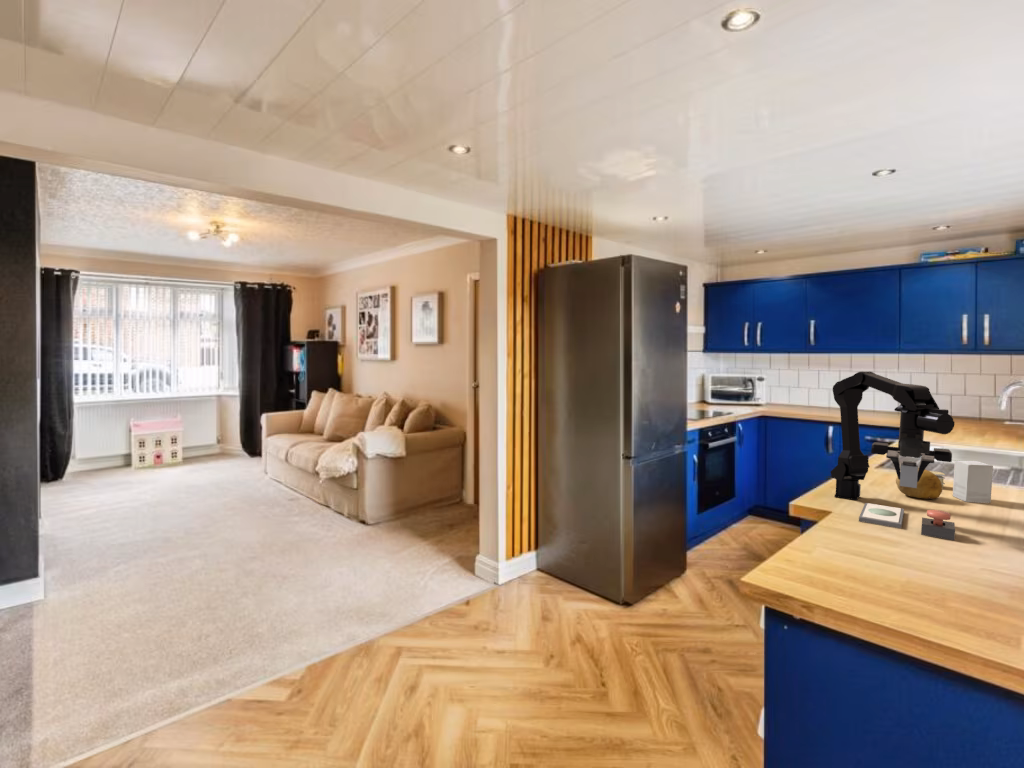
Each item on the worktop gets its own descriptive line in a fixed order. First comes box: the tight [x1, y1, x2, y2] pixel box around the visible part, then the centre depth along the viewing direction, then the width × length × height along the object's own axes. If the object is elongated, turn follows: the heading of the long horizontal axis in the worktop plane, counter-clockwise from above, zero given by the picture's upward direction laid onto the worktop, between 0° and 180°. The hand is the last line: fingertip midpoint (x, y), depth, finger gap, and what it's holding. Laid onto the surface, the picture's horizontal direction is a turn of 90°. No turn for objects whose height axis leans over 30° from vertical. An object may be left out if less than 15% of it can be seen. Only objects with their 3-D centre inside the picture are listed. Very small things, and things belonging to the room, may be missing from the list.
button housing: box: [920, 517, 956, 541], centre depth 144 cm, size 7×7×3 cm
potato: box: [895, 467, 943, 500], centre depth 178 cm, size 10×12×10 cm
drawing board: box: [858, 502, 905, 529], centre depth 158 cm, size 10×18×2 cm, turn 141°
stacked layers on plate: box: [929, 470, 946, 489], centre depth 192 cm, size 10×9×6 cm
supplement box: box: [952, 460, 994, 504], centre depth 175 cm, size 7×7×13 cm
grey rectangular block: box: [900, 460, 919, 488], centre depth 155 cm, size 4×4×7 cm
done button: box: [926, 509, 952, 526], centre depth 143 cm, size 5×5×4 cm
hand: (908, 480), depth 155 cm, fingers closed on grey rectangular block, 4 cm apart
